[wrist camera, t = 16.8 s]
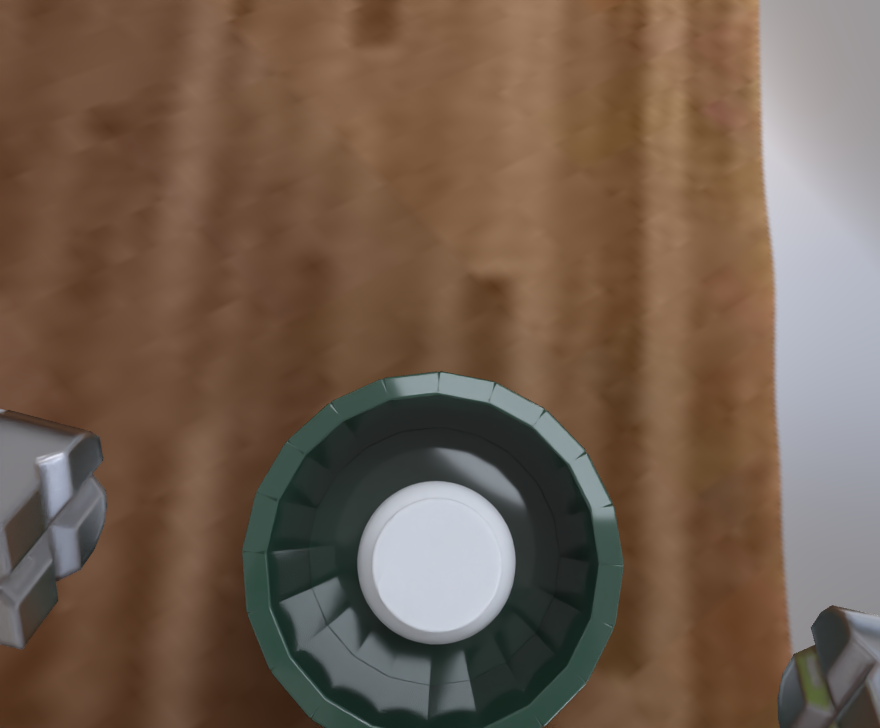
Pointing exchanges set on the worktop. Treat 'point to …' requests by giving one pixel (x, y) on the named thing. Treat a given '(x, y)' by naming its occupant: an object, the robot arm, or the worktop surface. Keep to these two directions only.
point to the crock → (340, 530)
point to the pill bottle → (436, 562)
